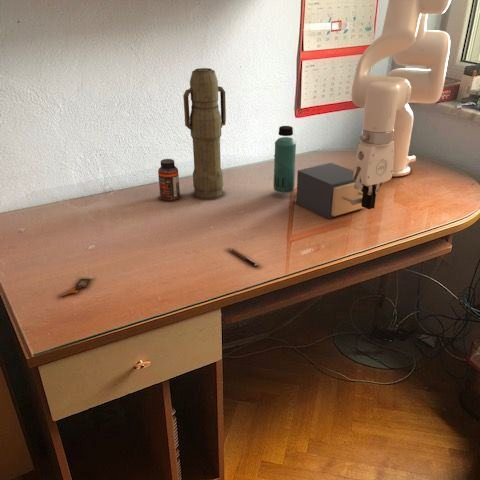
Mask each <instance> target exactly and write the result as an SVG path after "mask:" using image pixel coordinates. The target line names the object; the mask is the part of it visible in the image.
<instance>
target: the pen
mask: <svg viewBox="0 0 480 480" xmlns="http://www.w3.org/2000/svg"><path fill="white" fill-rule="evenodd" d="M229 251H230V252H231V253H232V254H234V255H236V256H237V257H239V258H240V259H242V260H243V261H245V262H246V263H249V264H250V265H252V266H254V267H259V265H258V264H257V262H256V261H254V260H253V259H251V258H250V257H248V256H245V255H244V254H241V253H240V252H238V251H236V250H235V249H232V248H230V249H229Z"/></svg>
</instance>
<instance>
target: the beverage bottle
mask: <svg viewBox="0 0 480 480" xmlns="http://www.w3.org/2000/svg"><path fill="white" fill-rule="evenodd" d="M293 135H294V128H293V126H290V125H281V126H279V127H278V136H281V137H279V138H277V139H276V140H275V141H274V155H273V156H274V158H273V160H274V161H273V165H274V167H273V190H274V191H275V192H277V193H282V194H286V193H287V194H288V193H291V192H293V191H295V181H296V151H297V141H296V140H295V139H294V138H292V137H291V136H293Z"/></svg>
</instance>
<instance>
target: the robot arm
mask: <svg viewBox="0 0 480 480" xmlns="http://www.w3.org/2000/svg"><path fill="white" fill-rule="evenodd" d="M451 1H452V0H388V3H387V8H386V13H385V17H384V21H383V25H382V32H381V34H380V36H378V37H377V38H376V39H375V40H374V41H373V42H371V44H370V45H368V47H367V48H365V50H364V52H363V53H362V54H361V56H360V58H359V60H358V62H357V64H356V68H355V72H354V77H353V81H352V86H351V94H350V95H351V101H352V104H353V105H354V106H356V107H357V108H364V109H363V119H362V128H361V135H360V136H359V139H360V142H359V144H358V147H357V151H356V154H355V160H354V166H353V171H354V173H353V180H354V181H355V185H354V188H355V189H358V190H361V192H362V193H363V196H362V207H364V208H365V209H366V210H372V209H375V206H376V198H377V194H378V193H379V191H380V188H381V187H382V185H383V184H385V183H387V182H388V181H390V180H392V177H403V176H404V177H405V176H408V175H409V174H410V173H411V167H410V166H409V164H410V163H413V162H416V161H417V156H416V155H411V156H409V150H410V144H411V138H412V131H413V125H414V119H415V117H414V113H413V110H412V108H411V107H410V105H409V103H410V104H412V103H415V104H435V103H437V102H439V100H441V97H442V95H443V91H444V86H445V80H446V76H447V75H446V74H447V68H448V61H449V56H450V49H451V39H450V35H449V33H447V31H444V30H434V29H431V30H429V29H427V20H428V15H442V14H444V13H446V11H447V10H448V8H449V6H450V5H451ZM391 56H392V59H393V62H394V63H395V64H396V65H398V66H405V67H399V68H394V69H392V70H390V71H389V72H388V73H386V75H373V74H372V75H371V74H368V73H369V71H370V69H371V68H372V67H374V66H375V65H376V64H377V63H378V62H380V61H382V60H384V59H386V58H389V57H391ZM408 67H410V68H408ZM411 67H422V68H411ZM427 68H428V69H427ZM364 208H363V209H364Z"/></svg>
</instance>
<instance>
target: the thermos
mask: <svg viewBox="0 0 480 480" xmlns="http://www.w3.org/2000/svg"><path fill="white" fill-rule="evenodd" d="M219 92H220V93H219ZM219 94H220V95H219ZM182 96H183V97H182V98H183V113H184V114H183V115H184V126H185V127H186V128H187V129H189V131H190V137H191V138H192V139H191V140H192V151H193V152H192V153H193V172H192V184H193V188H194V189H193V190H194V194H193V195H194V197H196V198H197V199H200V200H215V199H219V198H221V197H222V196H223V195H224V192H223V187H224V172H223V170H222V165H221V164H222V163H221V161H222V160H221V137H222V128H223V126H226V119H227V113H226V111H227V107H226V91H225V90H224V87H222V86H220V85H219V80H218V77H217V75H216V71H215V70H214V69H212V68H209V67H199V68H194V70H192V71H191V75H190V80H189V88H188V89H185V91H184V94H183V95H182ZM189 96H190V101H191V106H190V103H189V102H190V101H189ZM219 96H220V107H219V104H218V103H219V102H218V101H219ZM190 107H191V110H190ZM219 108H220V109H219Z"/></svg>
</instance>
